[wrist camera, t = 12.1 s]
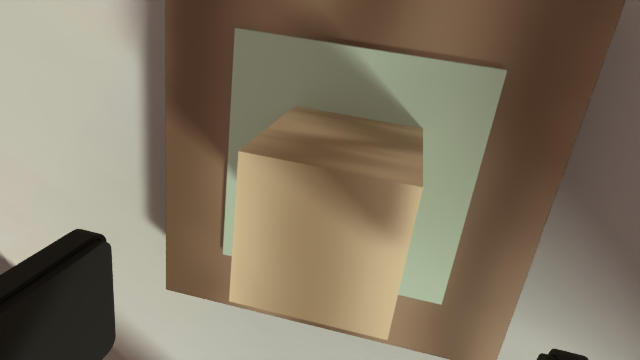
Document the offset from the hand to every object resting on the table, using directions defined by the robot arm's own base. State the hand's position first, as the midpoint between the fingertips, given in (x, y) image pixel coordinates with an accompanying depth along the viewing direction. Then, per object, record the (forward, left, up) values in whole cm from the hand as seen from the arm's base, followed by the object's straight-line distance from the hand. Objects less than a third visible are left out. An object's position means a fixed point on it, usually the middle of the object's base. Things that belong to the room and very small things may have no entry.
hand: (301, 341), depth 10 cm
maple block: (0, 0, -10) cm, 10 cm away
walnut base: (+1, 0, -13) cm, 13 cm away
